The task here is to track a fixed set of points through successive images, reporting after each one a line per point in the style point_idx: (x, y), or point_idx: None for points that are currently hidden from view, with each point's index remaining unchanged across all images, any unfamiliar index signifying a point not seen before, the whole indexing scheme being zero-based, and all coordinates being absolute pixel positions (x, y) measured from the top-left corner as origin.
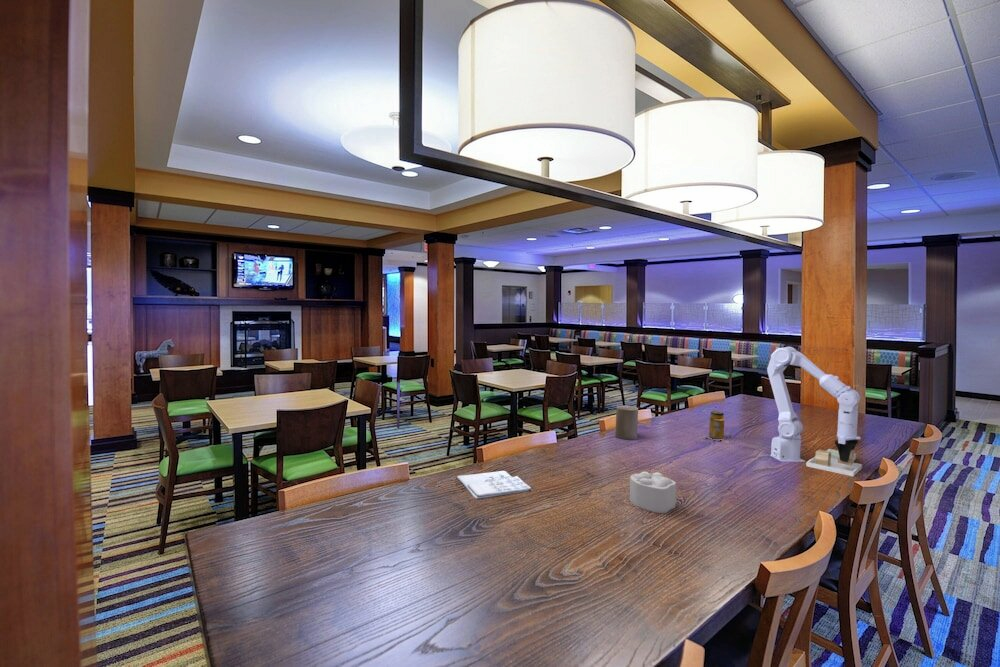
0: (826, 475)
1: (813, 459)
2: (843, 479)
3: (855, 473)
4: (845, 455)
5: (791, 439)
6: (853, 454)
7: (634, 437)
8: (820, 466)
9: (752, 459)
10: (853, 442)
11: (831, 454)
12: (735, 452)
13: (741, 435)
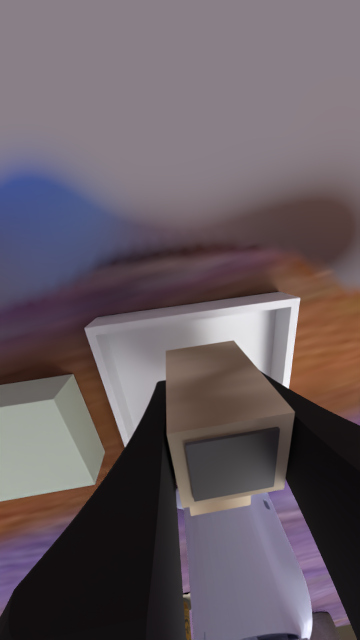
0: (318, 364)
1: None
2: (332, 308)
3: (246, 299)
4: None
5: (296, 635)
6: (191, 392)
7: (319, 620)
8: None
9: (296, 513)
10: (158, 602)
11: (76, 463)
12: None
13: None
